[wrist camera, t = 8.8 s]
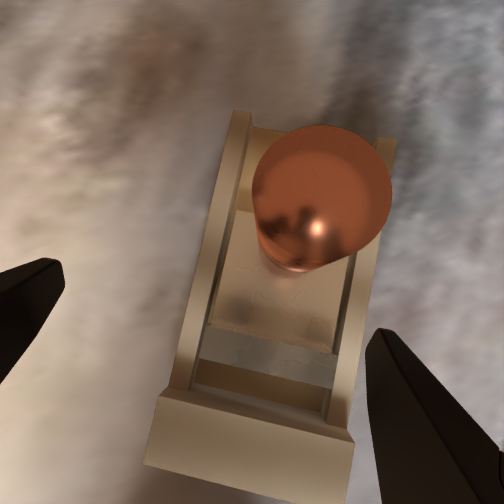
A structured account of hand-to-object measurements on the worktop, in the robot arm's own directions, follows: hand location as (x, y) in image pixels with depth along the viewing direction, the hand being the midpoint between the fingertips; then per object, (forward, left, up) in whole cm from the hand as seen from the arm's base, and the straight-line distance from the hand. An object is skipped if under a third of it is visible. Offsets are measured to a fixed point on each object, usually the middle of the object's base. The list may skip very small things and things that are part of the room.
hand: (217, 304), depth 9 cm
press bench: (0, -2, -11) cm, 11 cm away
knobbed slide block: (0, -2, -9) cm, 9 cm away
